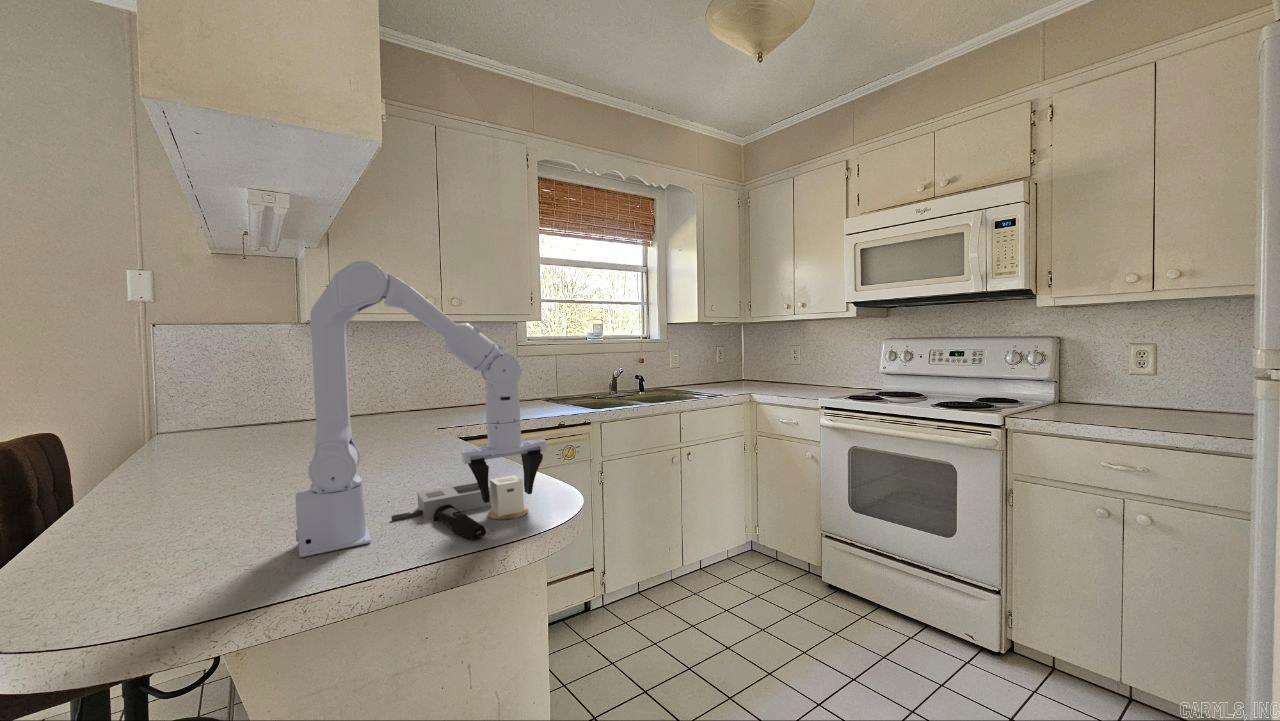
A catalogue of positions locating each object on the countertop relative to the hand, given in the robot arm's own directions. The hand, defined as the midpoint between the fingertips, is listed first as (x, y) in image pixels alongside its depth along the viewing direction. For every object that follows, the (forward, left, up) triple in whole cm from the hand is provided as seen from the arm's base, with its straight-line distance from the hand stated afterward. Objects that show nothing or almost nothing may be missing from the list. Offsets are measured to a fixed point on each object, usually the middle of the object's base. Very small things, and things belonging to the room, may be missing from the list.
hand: (507, 496), depth 96 cm
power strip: (-8, +9, -3) cm, 12 cm away
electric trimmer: (-9, -2, -3) cm, 10 cm away
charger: (0, 0, -2) cm, 3 cm away
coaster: (0, 0, -3) cm, 3 cm away
